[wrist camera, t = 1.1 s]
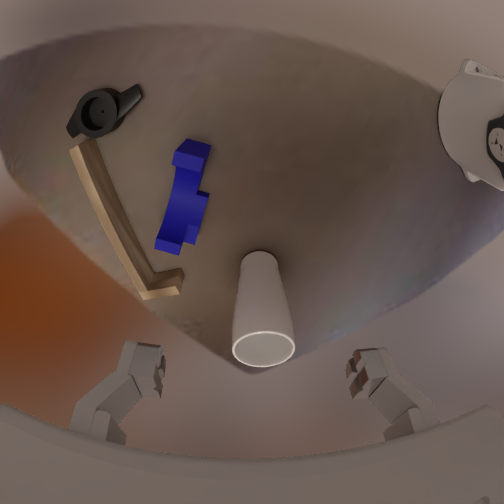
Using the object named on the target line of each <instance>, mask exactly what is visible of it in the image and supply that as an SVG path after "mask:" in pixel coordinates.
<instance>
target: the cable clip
mask: <svg viewBox="0 0 504 504" xmlns="http://www.w3.org/2000/svg"><path fill="white" fill-rule="evenodd" d="M210 148H211V145H208V144H205V143H201V142H197V141H194V140H190V139H186V140H185V141H184V142H183V143H182V144H181V145H180V146H179V147H178V148H177V149H176V150H175V153H174V157H173V161H172V165H174V166H176V172H175V178H174V183H173V188H172V192H171V196H170V200H169V203H168V207H167V210H166V213H165V216H164V220H163V222H162V225H161V228H160V231H159V233H158V235H157V238H156V242H155V248H154V249H157V250H161V251H165V252H168V253H172V254H175V255H179V253H180V250H181V247H182V244H183V242H186V243H190V244H194V245H195V242H196V238H197V235H198V231H199V228H200V224H201V221H202V217H203V214H204V210H205V207H206V204H207V200H208V197H209V193H205V192H202V191H198V188H199V185H200V181H201V178H202V174H203V171H204V168H205V164H206V161H207V158H208V155H209V151H210Z"/></svg>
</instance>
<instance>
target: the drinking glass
mask: <svg viewBox="0 0 504 504" xmlns="http://www.w3.org/2000/svg"><path fill="white" fill-rule="evenodd" d="M294 351H295V338H294V329H293V322H292V317H291V313H290V309H289V306H288V302H287V298H286V295H285V291H284V288H283V284H282V281H281V277H280V273H279V268H278V263H277V260H276V259H275V257H274V256H273V255H271V254H270V253H267V252H264V251H255V252H252V253H249V254H248V255H246V256H245V257H244V258H243V260H242V262H241V264H240V276H239V283H238V289H237V296H236V302H235V308H234V314H233V322H232V352H233V355H234V356H235V358H236V359H237V360H239V361H240V362H242V363H244V364H246V365H249V366H254V367H269V366H274V365H278V364H280V363H283V362H284V361H286V360H288V359H289V358H290V357H291V356H292V355H293V353H294Z"/></svg>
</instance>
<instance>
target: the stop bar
mask: <svg viewBox="0 0 504 504" xmlns="http://www.w3.org/2000/svg"><path fill="white" fill-rule="evenodd" d="M69 151H70V154H71V157H72V159H73V162H74V164H75V167H76V169H77V172H78V174H79V176H80V179H81V181H82V183H83V186H84V188H85V190H86V193H87V195H88V197H89V199H90V201H91V204H92V206H93V208H94V210H95V212H96V214H97V216H98V218H99V220H100V222H101V224H102V226H103V228H104V230H105V232H106V234H107V236H108V238H109V240H110V242H111V244H112V246H113V248H114V250H115V251H116V253H117V255H118V257H119V259H120V261H121V262H122V264H123V266H124V268H125V269H126V271H127V273H128V275H129V276H130V278H131V280H132V282H133V283H134V285H135V287H136V288H137V290H138V292H139V293H140V295H141V297H142V298H143V300H146V299H153V298H159V297H165V296H171V295H178V294H180V291H181V287H182V283H183V280H184V274H183V272H182V270H181V268H179V269H174V270H169V271H164V272H159V273H154V272H153V270H152V268H151V266H150V264H149V262H148V260H147V258H146V256H145V254H144V252H143V250H142V248H141V246H140V244H139V242H138V240H137V238H136V236H135V234H134V232H133V230H132V228H131V226H130V223H129V221H128V219H127V217H126V215H125V213H124V210H123V208H122V206H121V204H120V201H119V199H118V197H117V194H116V192H115V190H114V187H113V185H112V183H111V180H110V178H109V175H108V173H107V171H106V168H105V165H104V163H103V160H102V158H101V155H100V153H99V150H98V147H97V145H96V142H95V139H94V138H91V139H89V140H87V141H85V142H83V143H81V144H79V145H77V146H75V147H74V148H72V149H70V150H69Z"/></svg>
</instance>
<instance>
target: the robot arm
mask: <svg viewBox="0 0 504 504" xmlns="http://www.w3.org/2000/svg"><path fill="white" fill-rule="evenodd" d="M438 122H439V131H440V136H441V139H442V142H443V145H444V147H445V149H446V151H447V153H448V154H449V156H450V157H451V158H452V159H453V160H454V161H455V162H456V163H457V164H459V165H460V166H461V168H462V170H463V172H464V175H465V177H466V178H467V180H469V181H471V182H476V181H478V180H483V181H485V182H487V183H488V184H490V185H492V186H494V187H495V188H497V189H499V190H501V191H504V76H502V75H500V74H499V73H497V72H495V71H493V70H491V69H489V68H488V67H486V66H483V65H481V64H480V63H478V62H476V61H473V60H470V59H465V60H464V61H463V63H462V66H461V68H460V71H459V73H458V74H457V75H456V77H454V78H453V79H452V80H451V81H450V82H449V83H448V85H447V86H446V88H445V90H444V92H443V94H442V97H441V101H440V105H439V114H438ZM162 354H163V347H162V345H155V344H148V343H141V342H135V341H126V343H125V344H124V347H123V350H122V353H121V357H120V360H119V363H118V367H117V370H116V372H112V373H111V374H110V375H109V376H107V377H106V378H105V379H104V380H103V381H102V382H100V383H99V384H98V385H97V386H96V387H95V388H93V389H92V390H91V391H90V392H89V393H87V394H86V395H85V396H84V397H83V398H82V399H81V400H79V401H78V402H77V403H76V406H75V410H74V413H73V416H72V420H71V424H70V427H69V429H66V428H63V427H60V426H57V425H55V424H52V423H49V422H47V421H44V420H42V419H39V418H37V417H35V416H32V415H30V414H28V413H25V412H23V411H21V410H19V409H17V408H15V407H13V406H11V405H8V404H2V405H0V504H504V416H503V415H502V414H501V413H500V412H498V411H497V410H496V409H495V408H493V407H492V406H490V405H483V406H481V407H479V408H477V409H475V410H472V411H470V412H468V413H466V414H464V415H461V416H459V417H457V418H454V419H452V420H449V421H446V422H444V423H441V424H440V421H439V418H438V416H437V413H436V410H435V407H434V405H433V402H432V401H431V400H429V399H428V398H427V397H426V396H425V395H423V394H422V393H421V392H420V391H419V390H418V389H416V388H415V387H414V386H413V385H412V384H410V383H409V382H408V381H407V380H406V379H405V378H403V377H402V376H401V375H398V374H397V371H396V369H395V366H394V364H393V361H392V359H391V357H390V354H389V352H388V349H387V348H385V347H382V348H368V349H357V350H355V351H354V352H353V354H352V355H353V358H351V359H350V360H349V361H348V362H347V364H346V369H345V371H346V377H347V380H348V381H349V382H351V385H350V387H349V389H350V392H351V396H352V399H361V398H368V399H369V400H370V401H371V402H372V403H373V404H374V406H375V407H376V408H377V409H378V410H379V411H380V412H381V413H382V415H383V416H384V417H385V418H386V419H387V420H388V421H389V422H390V423H391V425H390V426H389V427H388V428H387V429H385V430H384V432H383V433H384V437H385V441H384V442H380V443H376V444H372V445H367V446H362V447H358V448H352V449H347V450H341V451H335V452H328V453H321V454H314V455H304V456H293V457H280V458H247V459H246V458H242V459H240V458H214V457H213V458H212V457H199V456H188V455H179V454H171V453H164V452H158V451H151V450H146V449H140V448H135V447H130V446H126V438H127V435H126V434H125V432H124V431H123V430H122V429H121V427H120V426H119V425H118V424H119V423H120V422H121V420H122V419H123V418H124V417H125V416H126V415H127V414H128V413H129V411H130V410H131V409H132V408H133V407H134V406H135V405H136V403H137V402H138V401H139V400H140V399H141V398H142V397H148V398H157V399H161V394H162V388H163V384H162V381H161V380H162V379H163V378H164V377H165V369H166V360H165V356H164V355H162Z"/></svg>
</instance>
